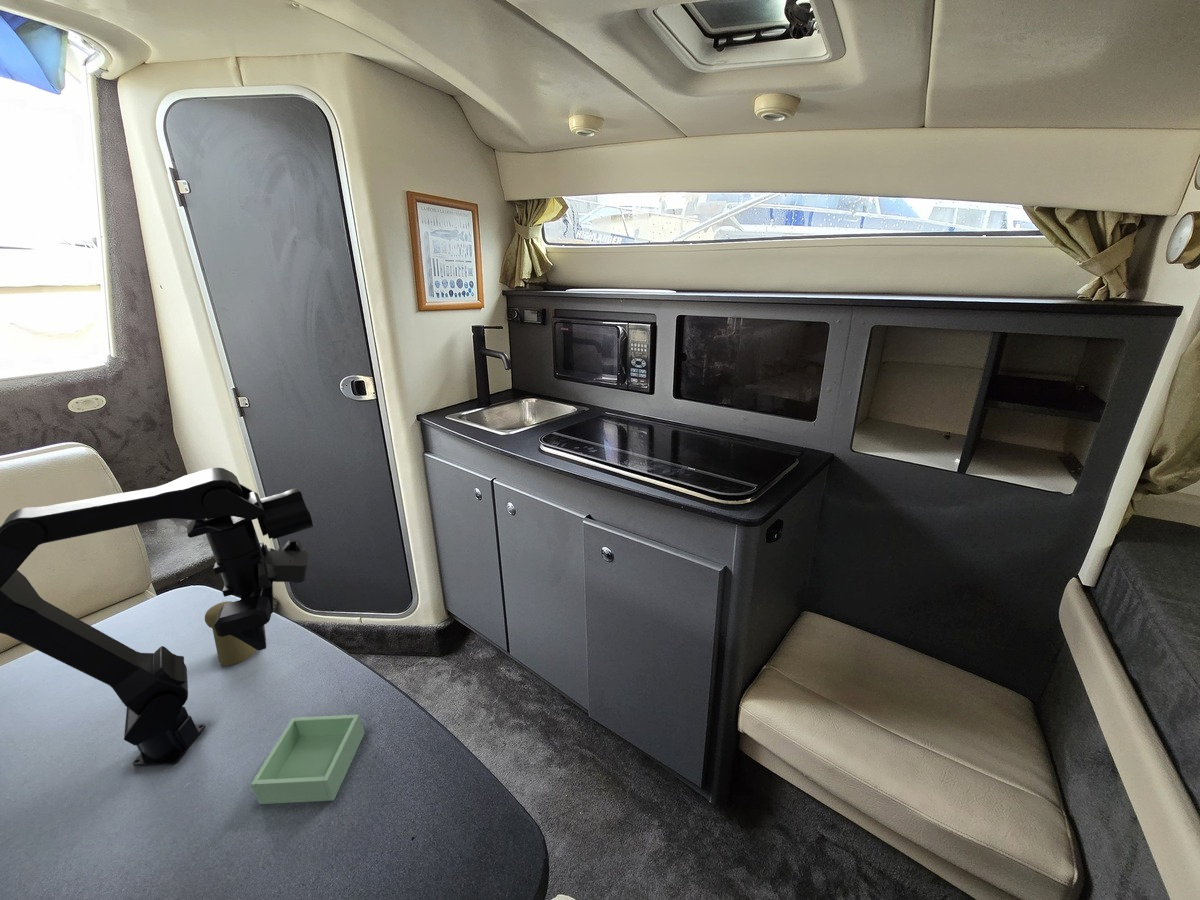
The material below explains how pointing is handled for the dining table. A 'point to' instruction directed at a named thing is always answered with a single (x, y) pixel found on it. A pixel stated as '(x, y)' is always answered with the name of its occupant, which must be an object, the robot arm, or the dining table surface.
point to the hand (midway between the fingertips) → (266, 630)
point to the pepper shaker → (227, 641)
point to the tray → (309, 760)
